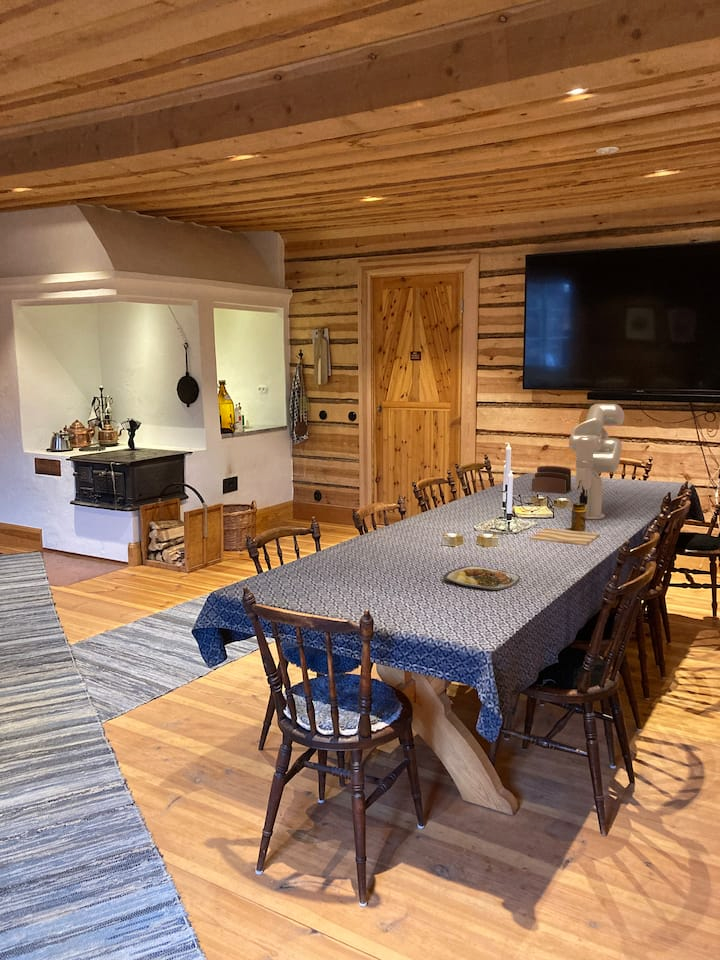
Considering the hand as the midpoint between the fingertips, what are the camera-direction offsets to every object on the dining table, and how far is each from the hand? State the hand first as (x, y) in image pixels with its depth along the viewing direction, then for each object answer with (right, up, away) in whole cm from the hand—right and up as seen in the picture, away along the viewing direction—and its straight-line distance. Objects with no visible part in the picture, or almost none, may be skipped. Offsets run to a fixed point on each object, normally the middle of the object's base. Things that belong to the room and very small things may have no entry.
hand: (583, 504), depth 351 cm
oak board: (-14, -14, -20) cm, 28 cm away
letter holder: (+8, +4, +90) cm, 90 cm away
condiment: (-5, -12, -7) cm, 14 cm away
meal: (-58, -25, -78) cm, 101 cm away
